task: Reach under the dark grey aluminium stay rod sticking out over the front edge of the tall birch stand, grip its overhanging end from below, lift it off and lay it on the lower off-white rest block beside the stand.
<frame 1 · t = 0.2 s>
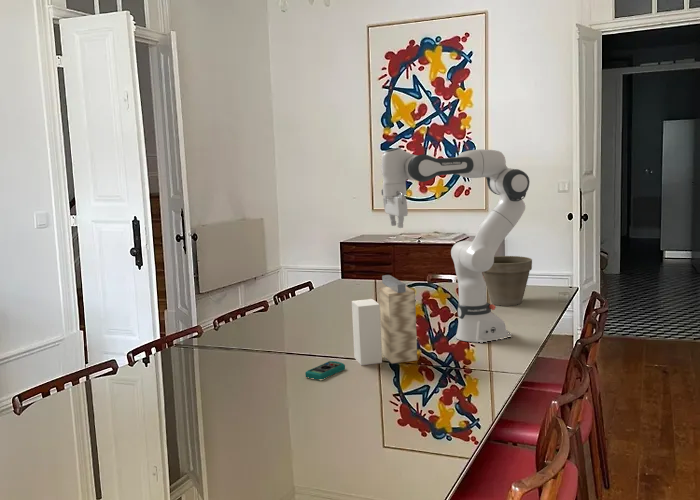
hand: (397, 226, 270), 48 cm above the table, tool pointing down, fingers open, 8 cm apart
stay rod: (393, 287, 263), point 26 cm above the table, touching tall stand
plant pot: (506, 303, 341), on the table
rest block: (368, 360, 261), on the table
digital multimeter: (325, 375, 248), on the table
tall stand: (399, 357, 263), on the table
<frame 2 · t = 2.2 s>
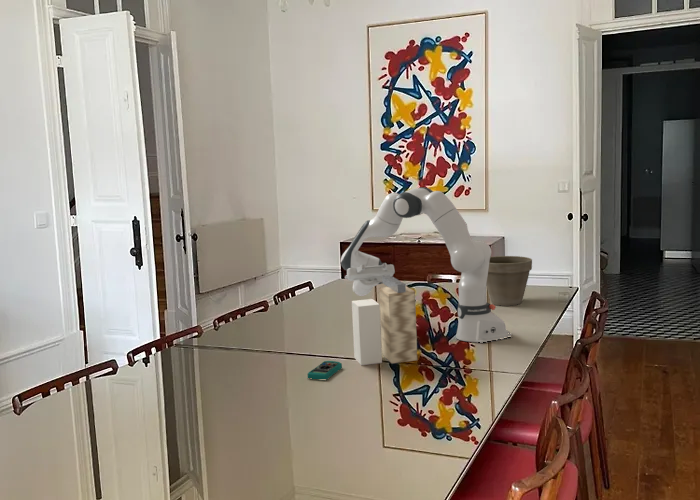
hand: (374, 265, 288), 30 cm above the table, tool pointing upward, fingers open, 8 cm apart
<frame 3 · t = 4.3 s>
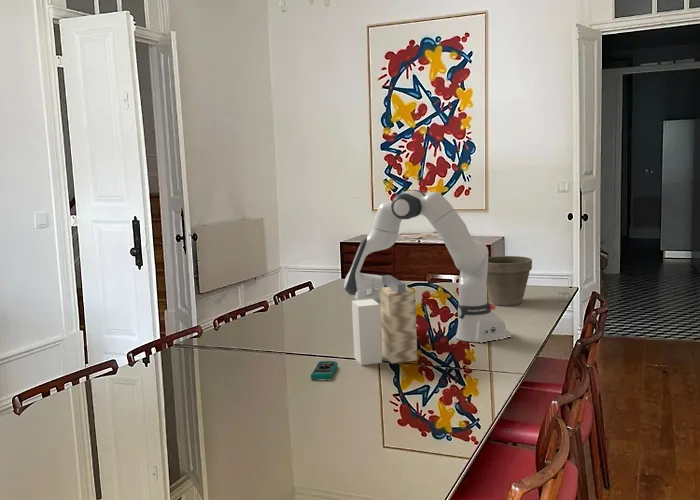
hand: (384, 288, 276), 23 cm above the table, tool pointing upward, fingers open, 8 cm apart
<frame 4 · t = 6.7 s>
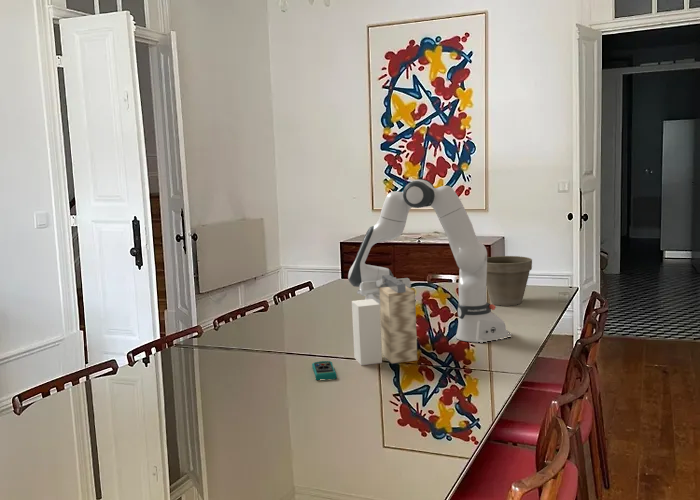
hand: (389, 279, 268), 28 cm above the table, tool pointing upward, fingers closed on stay rod, 3 cm apart
stay rod: (393, 287, 263), point 26 cm above the table, touching gripper, tall stand
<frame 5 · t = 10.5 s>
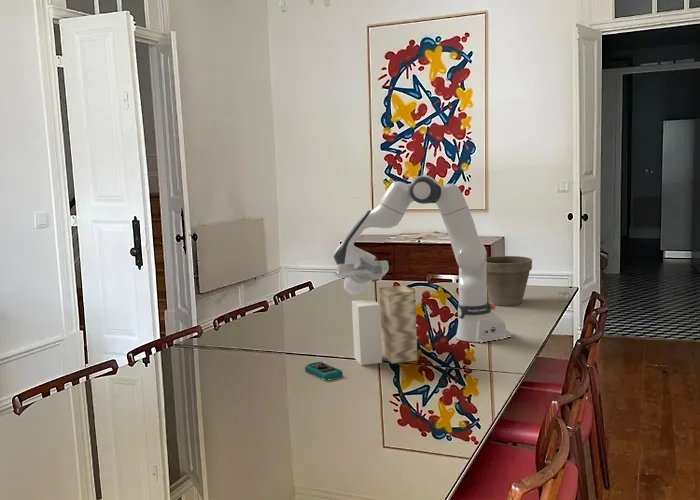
hand: (366, 261, 265), 36 cm above the table, tool pointing upward, fingers closed on stay rod, 3 cm apart
stay rod: (370, 269, 260), point 34 cm above the table, touching gripper
when the fingers open (24 cm above the table, at t = 14.3 s): stay rod stays where it is, resting on rest block.
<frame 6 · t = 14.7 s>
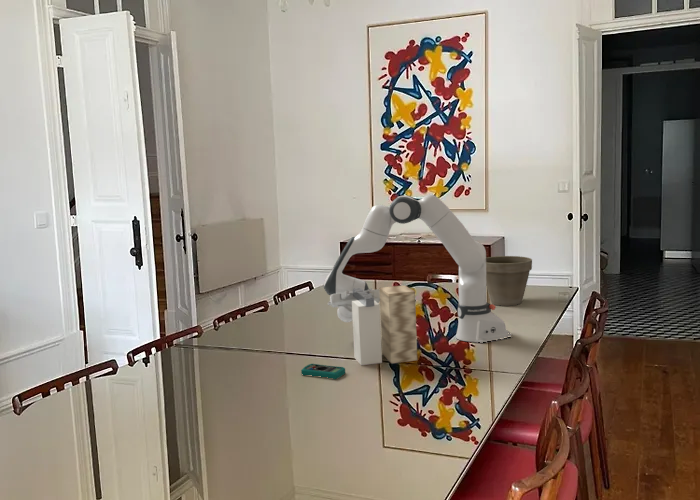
hand: (359, 291, 266), 24 cm above the table, tool pointing upward, fingers open, 8 cm apart
stay rod: (363, 301, 261), point 22 cm above the table, touching rest block
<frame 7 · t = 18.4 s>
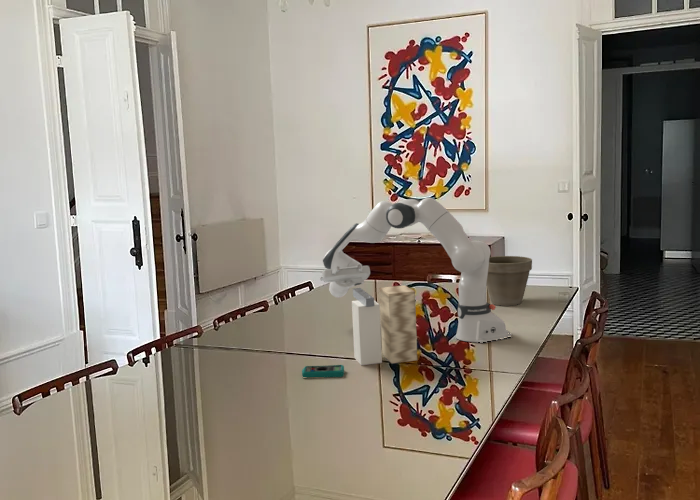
hand: (349, 267, 287), 30 cm above the table, tool pointing upward, fingers open, 8 cm apart
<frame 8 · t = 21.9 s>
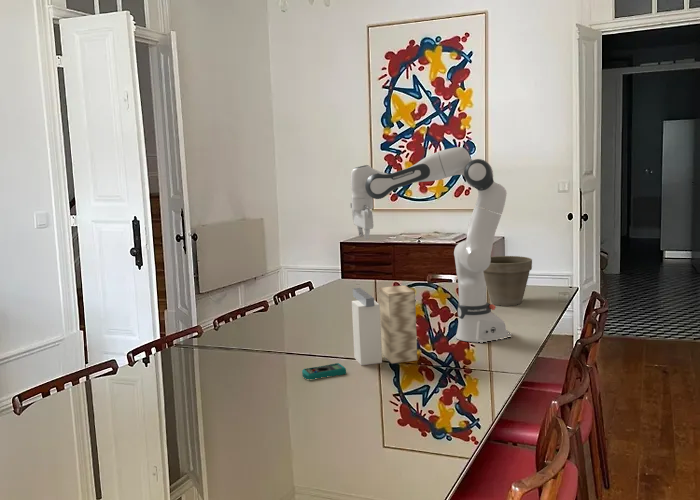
hand: (363, 237, 293), 41 cm above the table, tool pointing down, fingers open, 8 cm apart
at the end: stay rod inside the target area on the rest block (0.0 cm from its centre), point 22.0 cm above the rest block's base; stay rod tilted 0°; the gripper is holding nothing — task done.
